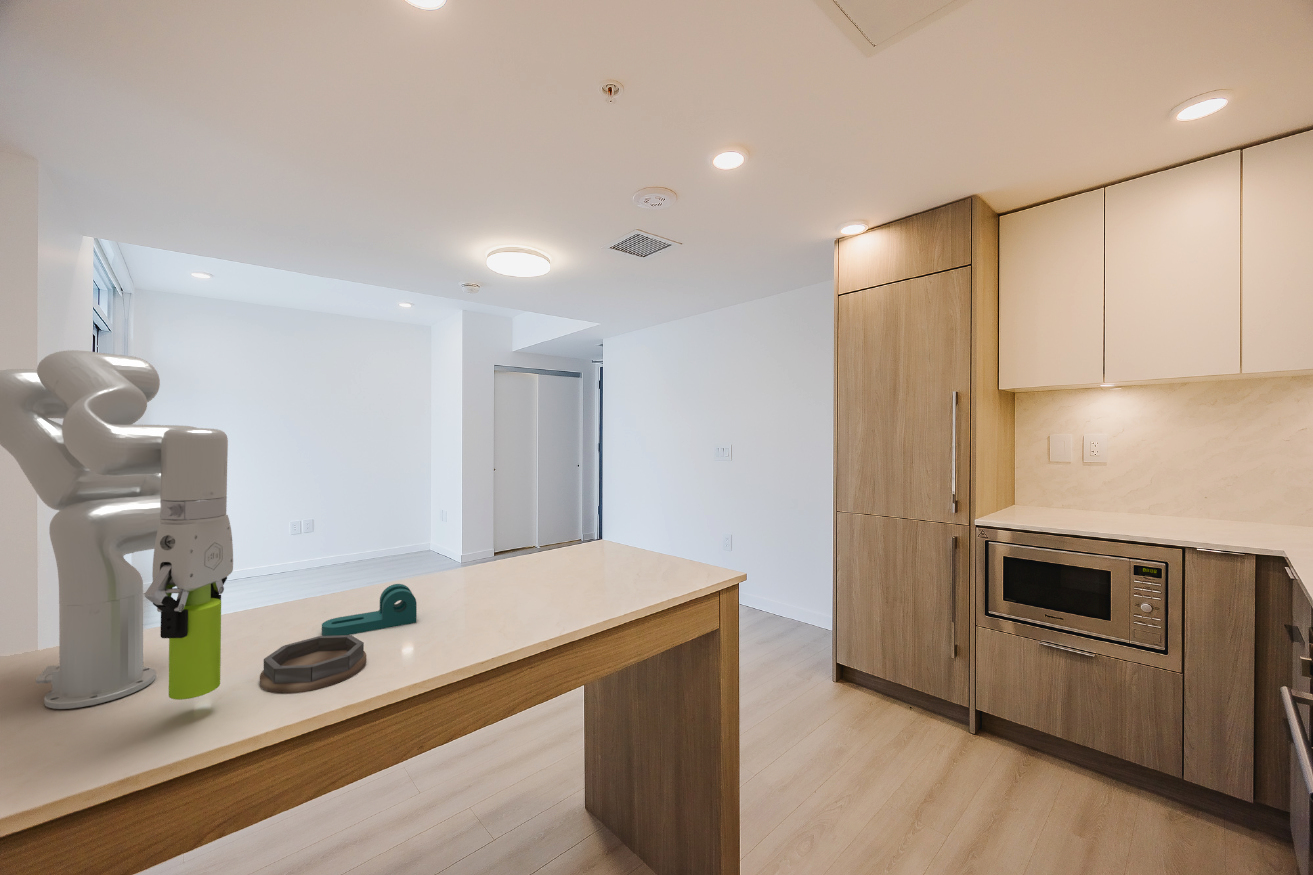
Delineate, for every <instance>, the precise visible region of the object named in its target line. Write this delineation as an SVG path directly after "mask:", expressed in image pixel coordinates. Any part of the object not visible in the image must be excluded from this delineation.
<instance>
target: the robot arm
mask: <svg viewBox="0 0 1313 875" xmlns="http://www.w3.org/2000/svg"><path fill="white" fill-rule="evenodd" d="M160 383H161V382H160V376H159V373H158V371H157V369H156V368H155V367H154V366H153V365H152V364H151V363H150V362H149V361H147V360H146V359H142V358H140V357H136V356H133V355H132V356H131V355H122V354H114V353H105V352H96V351H87V350H74V349H73V350H71V349H70V350H69V349H67V350H61V351H60V350H59V351H57V352H56V351H55V352H53V353H50V354H48V355H46V356H45V357H44V358H43V359H41V360H40V361H39V363H38V365H37V368H36V369H31V368H30V369H29V368H28V369H27V368H25V369H24V368H19V369H18V368H15V369H14V368H12V369H10V368H9V369H1V370H0V446H1V447H2V449H3V448H4V449H5V450H6V451H7V452H8V453H9V454H10V455H11V456H12V457H13V458H14V459H15V461H16V462H17V463H18V465H19V467H20V469H21V470H22V472H23V474H24V475H25V477H26V478H27V479H28V482H29V483H30V485H31V486H32V488H33V489H34V491H35V493H36V494H37V495H38V497H39V498H40V500H41V501H42V502H43V503H44V504H45V505H46V506H47V507H48V508H50V509H52V510H54V511H57V512H56V513H55V514H54V515H53V517H52V519H51V521H50V523H49V538H50V543H51V546H52V550H53V553H54V558H55V562H56V568H57V576H58V577H57V578H58V608H59V613H58V615H59V616H58V621H59V622H58V623H59V624H58V625H59V627H58V629H59V632H58V633H59V634H58V635H59V637H58V640H59V641H58V642H59V648H58V649H59V650H58V651H59V652H58V654H59V656H58V658H59V663H58V665H48V666H47V667H45V668H44V669H43V671H42V673H41V674H39V675H38V676H37V677H36V679H35V683H36V684H48V683H49V684H50V683H51V690H50V691H49V692H47V693H46V695H45V696H44V698H43V699H44V706H46V708H49V709H52V710H67V709H69V710H71V709H78V708H83V707H89V706H94V705H98V704H103V703H106V702H110V701H114V700H117V699H120V698H123V697H126V696H129V695H132V694H134V693H136V692H138V691H140V690H142V689H144V688H146V687H148V686H149V685H150V684H152V683H153V681H155V679H156V677H157V672H156V671H157V670H155V669H154V668H152V667H150V666H144V598H146V599H147V600H148V601H150V603H152V605H153V606H154V607H156V610H157V612H158V613H160V634H159V635H160V638H161V639H169V638H184V637H186V636H187V634H188V609H184V607H185V604H186V600H187V597H188V593H189V591H193V590H196V589H199V588H201V587H204V586H206V585H209V584H211V598H216V599H220V600H221V601H222V594H223V593H224V591H225V587H224V585H225V583H226V581H227V579H228V576H230V575H231V574H232V573H233V570H234V549H233V547H234V544H233V533H232V526H231V523H230V522H231V521H230V518H229V515H228V514H227V506H228V504H227V502H228V500H227V498H228V496H227V495H228V493H227V492H228V457H229V456H228V451H229V450H228V449H229V448H228V447H229V439H228V436H227V434H226V432H225V431H223V430H221V429H218V428H203V427H194V426H189V425H178V424H177V425H176V424H175V425H174V424H173V425H171V424H170V425H169V424H167V425H165V424H136V422H137V421H139V420H140V419H141V418H142V417H143V416H144V414H146V411H147V408H148V403H149V402H150V401H152V400H153V399H155V397H156V396H157V394H158V392H159V390H160V387H161V384H160ZM53 419H63V420H62V424H61V423H58V422H56V421H53ZM149 550H153V556H152V557H153V558H152V575H151V576H152V582H151V584H150V585H149V587H148V588H147V590H146V592H145V593H144V580H143V577H142V575H141V573H140V572H139V571H138V569H137V568H135V567H134V566H133V565H132V564H131V563H130V562H128V561H127V560H126V559H125V557H124V556H126V555H129V554H134V553H137V552H142V551H143V552H144V551H149ZM175 587H176V588H175ZM173 594H177V598H176V599H175V598H173V596H172V595H173Z"/></svg>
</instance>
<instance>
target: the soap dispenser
mask: <svg viewBox="0 0 1313 875" xmlns="http://www.w3.org/2000/svg"><path fill="white" fill-rule="evenodd" d="M184 609H188V634H187V636H186V637H184V638H168V698H170V699H171V700H177V701H178V700H180V701H182V700H190V699H194V698H198V697H201V696H204V695H207V694H209V693H212V692H213V691H215V690H217V689H218V688H219V687H220V685H221V664H222V662H221V659H222V658H221V656H222V655H221V653H222V652H221V651H222V648H221V646H222V645H221V643H222V599H221V600H220V599H216V598H211V584H209V585H206V586H204V587H201V588H199V589H196V590H193V591H189V593H188V597H187V600H186V604H185V607H184Z"/></svg>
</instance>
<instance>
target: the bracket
mask: <svg viewBox="0 0 1313 875" xmlns="http://www.w3.org/2000/svg"><path fill="white" fill-rule="evenodd" d="M399 601H400V602H399ZM397 602H398V603H397ZM417 606H418V605H417V598H416V597H415V595H414V594H413V592H412V590H411V589H410V588H409V587H408V586H407V585H405V584H403V583H394V584H391V585H389V586H387V587H385V589H383V591H382V592H381V594H380V596H379V609H378V610H376V611H369V612H362V613H358V614H357V613H356V614H351V615H345V616H338V617H334V618H331V619H328V620H326V621H323V622H322V623H321V636H337V635H352V636H353V635H356V634H361V633H362V634H363V633H367V632H372V631H374V632H375V631H378V630H383V629H389V628H394V627H395V628H396V627H400V626H401V627H403V626H406V625H411V624H417V609H418V608H417Z"/></svg>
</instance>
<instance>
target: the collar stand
mask: <svg viewBox="0 0 1313 875" xmlns="http://www.w3.org/2000/svg"><path fill="white" fill-rule="evenodd" d="M366 665H367V653H366V651H365V650H364V642H363V641H362V640H360V639H358V638H356V637H355V636H354V635H353V634H352V635H337V636H322V635H318V636H315V637H314V636H313V637H311V638H308V639H303V640H301V641H299V640H298V641H296V642H293V643H288V644H285V645H281V647H279V648H278V649H277V650H275V651H274V652H272V653H271V654H269V655H267V656H266V657H265V658H263V669H262V671H261V672H260V675H259V685H260V688H261V689H262V690H264V691H265V692H269V693H274V694H297V693H303V692H309V691H313V690H319V689H323V688H327V687H330V686H334V685H336V684H339V683H341V682H344V681H346V680H348V679H350V678H352V677H354V676H356V675H357V674H358V673H360V672H361V671H362V670H363V669H364V668H365V667H366Z"/></svg>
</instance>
